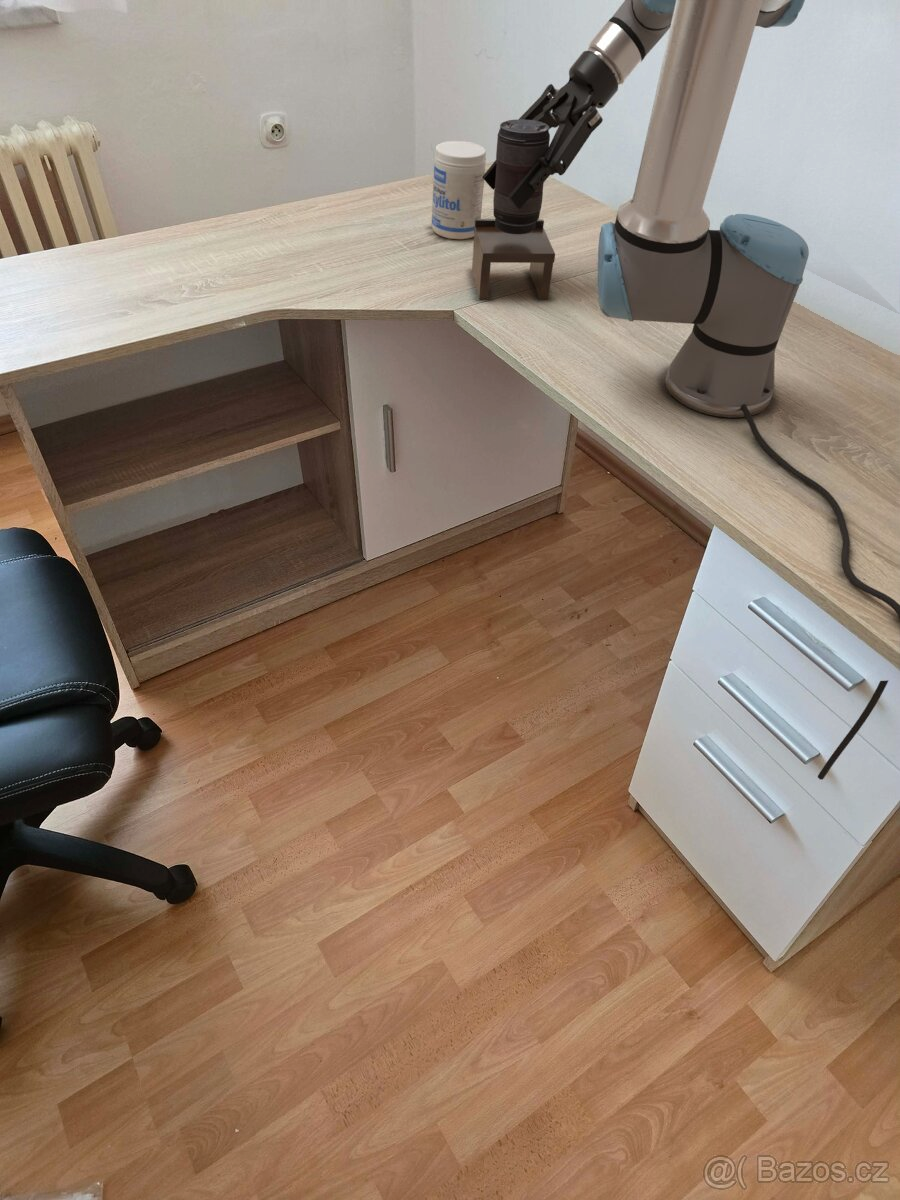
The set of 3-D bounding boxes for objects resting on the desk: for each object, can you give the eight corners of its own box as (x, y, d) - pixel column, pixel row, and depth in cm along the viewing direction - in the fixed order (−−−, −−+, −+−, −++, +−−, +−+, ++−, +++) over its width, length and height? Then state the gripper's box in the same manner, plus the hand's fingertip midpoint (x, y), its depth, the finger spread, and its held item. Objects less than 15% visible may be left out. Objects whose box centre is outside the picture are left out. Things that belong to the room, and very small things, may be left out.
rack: (548, 301, 134) (556, 247, 128) (479, 301, 133) (483, 247, 126) (536, 270, 142) (543, 219, 136) (471, 270, 141) (474, 218, 135)
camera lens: (539, 219, 133) (551, 119, 122) (538, 238, 128) (550, 135, 117) (492, 215, 134) (500, 115, 123) (489, 234, 128) (496, 131, 117)
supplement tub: (424, 235, 151) (425, 151, 141) (441, 218, 158) (444, 137, 147) (471, 244, 149) (476, 160, 139) (487, 227, 156) (493, 145, 145)
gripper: (654, 106, 115) (545, 232, 122) (578, 70, 128) (484, 186, 135) (631, 65, 110) (519, 200, 116) (555, 32, 123) (457, 155, 129)
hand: (500, 192), depth 125 cm, fingers closed on camera lens, 8 cm apart
